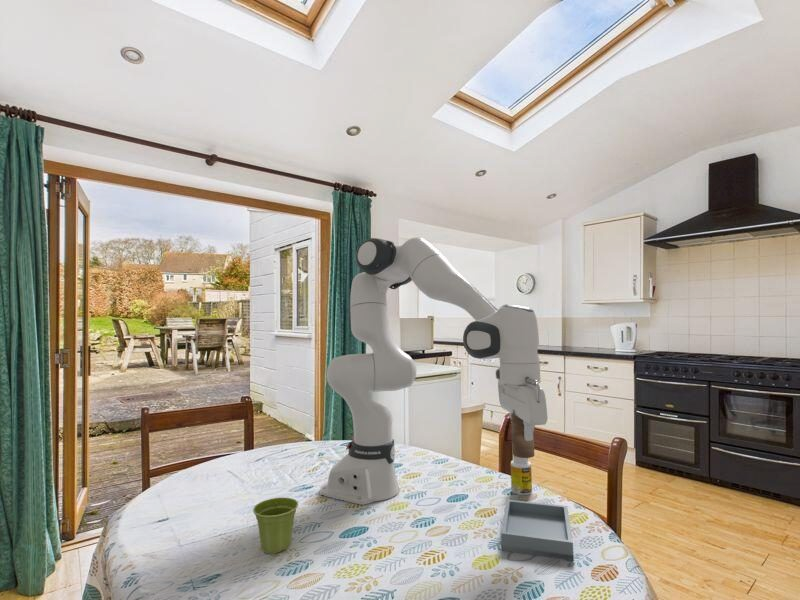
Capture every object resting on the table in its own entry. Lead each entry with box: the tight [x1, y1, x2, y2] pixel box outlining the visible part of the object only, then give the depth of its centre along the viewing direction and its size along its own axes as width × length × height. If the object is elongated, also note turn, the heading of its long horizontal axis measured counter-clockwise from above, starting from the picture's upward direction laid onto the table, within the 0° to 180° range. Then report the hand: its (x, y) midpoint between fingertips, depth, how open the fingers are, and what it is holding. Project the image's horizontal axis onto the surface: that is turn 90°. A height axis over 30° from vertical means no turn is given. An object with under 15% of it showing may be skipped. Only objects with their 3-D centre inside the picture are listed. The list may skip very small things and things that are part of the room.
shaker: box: [510, 409, 535, 459], centre depth 97 cm, size 5×5×10 cm
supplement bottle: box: [510, 454, 533, 496], centre depth 118 cm, size 6×6×10 cm
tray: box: [500, 499, 574, 561], centre depth 95 cm, size 14×17×4 cm
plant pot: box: [252, 497, 299, 554], centre depth 93 cm, size 9×9×9 cm
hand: (522, 436), depth 97 cm, fingers closed on shaker, 5 cm apart
